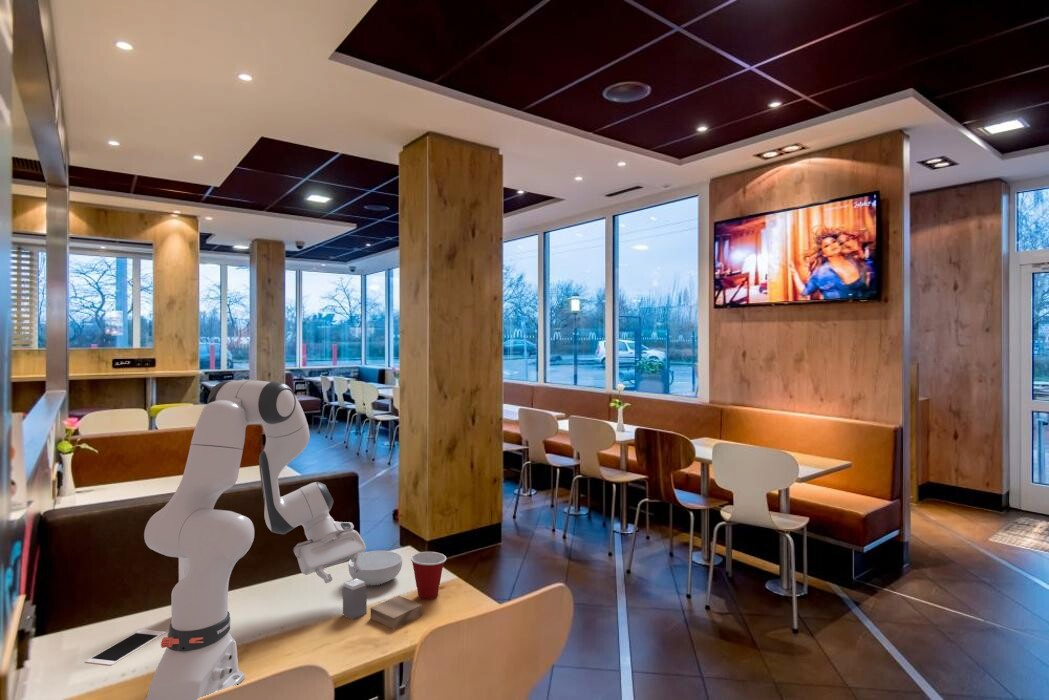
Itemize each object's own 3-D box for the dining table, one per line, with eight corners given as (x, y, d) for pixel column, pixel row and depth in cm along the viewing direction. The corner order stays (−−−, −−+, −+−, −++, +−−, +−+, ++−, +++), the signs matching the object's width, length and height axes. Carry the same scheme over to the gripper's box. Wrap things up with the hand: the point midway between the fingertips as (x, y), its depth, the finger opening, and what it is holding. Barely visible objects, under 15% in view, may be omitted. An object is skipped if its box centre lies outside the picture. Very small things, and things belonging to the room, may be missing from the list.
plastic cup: (450, 599, 169) (450, 559, 169) (414, 606, 165) (414, 565, 165) (442, 585, 179) (441, 548, 179) (407, 591, 175) (407, 552, 175)
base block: (393, 629, 151) (393, 618, 151) (370, 618, 158) (370, 607, 158) (422, 615, 159) (422, 604, 159) (398, 605, 165) (398, 595, 165)
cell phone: (166, 633, 151) (166, 631, 151) (111, 667, 135) (111, 664, 135) (141, 631, 152) (141, 629, 152) (84, 664, 136) (84, 661, 136)
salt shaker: (352, 619, 157) (352, 587, 157) (343, 615, 160) (342, 583, 160) (366, 613, 161) (366, 581, 161) (356, 609, 164) (356, 577, 164)
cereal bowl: (363, 597, 172) (363, 573, 172) (339, 580, 184) (339, 559, 184) (412, 581, 183) (412, 559, 183) (386, 566, 195) (386, 546, 195)
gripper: (295, 539, 160) (315, 582, 154) (356, 521, 176) (376, 559, 170) (287, 551, 163) (306, 594, 157) (348, 532, 179) (367, 571, 173)
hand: (343, 576), depth 164 cm, fingers open, 8 cm apart
